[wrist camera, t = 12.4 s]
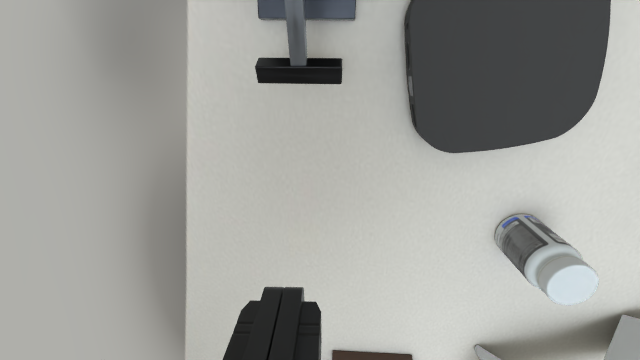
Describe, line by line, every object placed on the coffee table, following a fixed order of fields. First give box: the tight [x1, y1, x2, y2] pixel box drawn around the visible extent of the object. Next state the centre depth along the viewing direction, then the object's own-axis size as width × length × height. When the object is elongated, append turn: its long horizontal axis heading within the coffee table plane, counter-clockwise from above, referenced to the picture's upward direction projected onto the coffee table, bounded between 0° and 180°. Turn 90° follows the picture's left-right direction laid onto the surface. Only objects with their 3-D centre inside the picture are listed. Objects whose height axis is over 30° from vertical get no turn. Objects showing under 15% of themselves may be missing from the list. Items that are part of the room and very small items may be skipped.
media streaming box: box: [405, 0, 611, 153], centre depth 26 cm, size 15×15×3 cm
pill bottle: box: [495, 214, 599, 305], centre depth 29 cm, size 5×5×8 cm
